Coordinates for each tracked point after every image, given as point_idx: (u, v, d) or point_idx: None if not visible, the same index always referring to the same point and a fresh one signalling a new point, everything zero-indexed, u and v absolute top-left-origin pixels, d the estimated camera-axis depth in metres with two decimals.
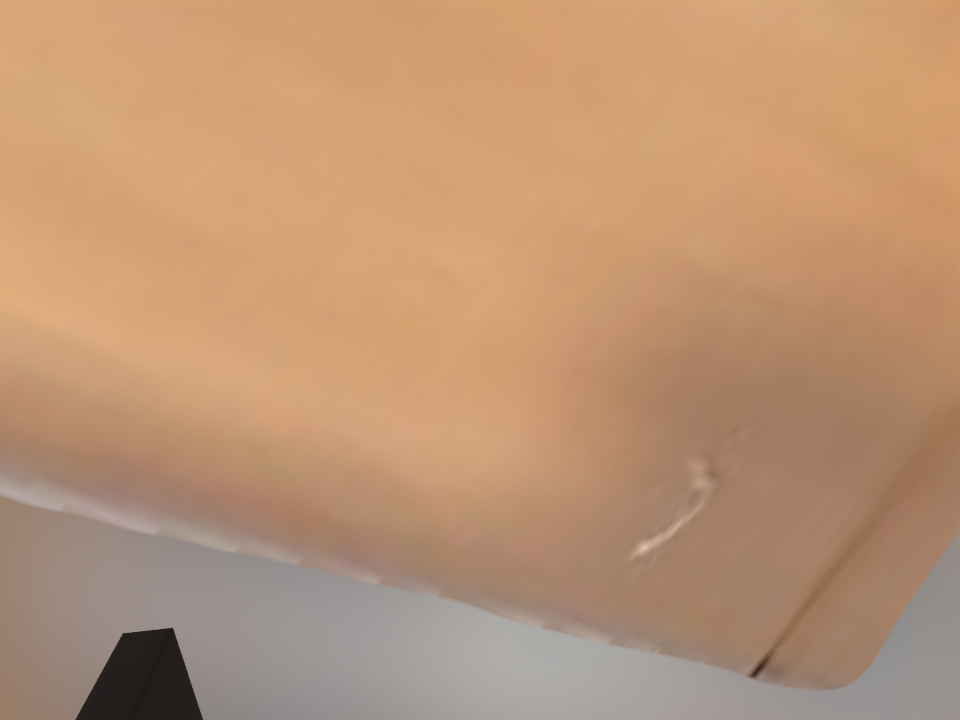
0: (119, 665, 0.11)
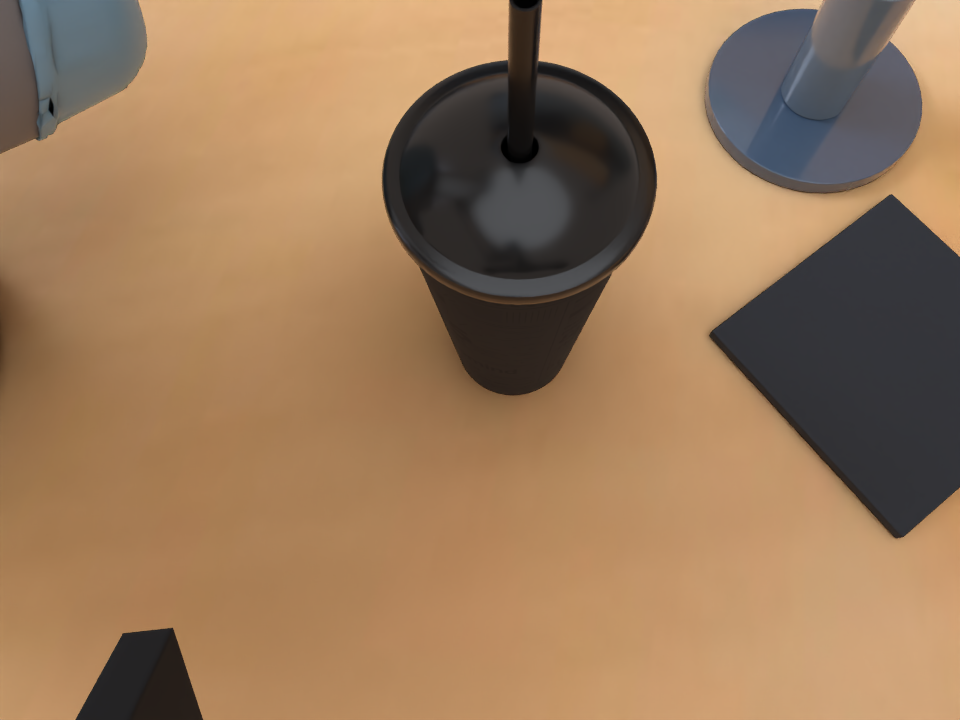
0: (118, 665, 0.11)
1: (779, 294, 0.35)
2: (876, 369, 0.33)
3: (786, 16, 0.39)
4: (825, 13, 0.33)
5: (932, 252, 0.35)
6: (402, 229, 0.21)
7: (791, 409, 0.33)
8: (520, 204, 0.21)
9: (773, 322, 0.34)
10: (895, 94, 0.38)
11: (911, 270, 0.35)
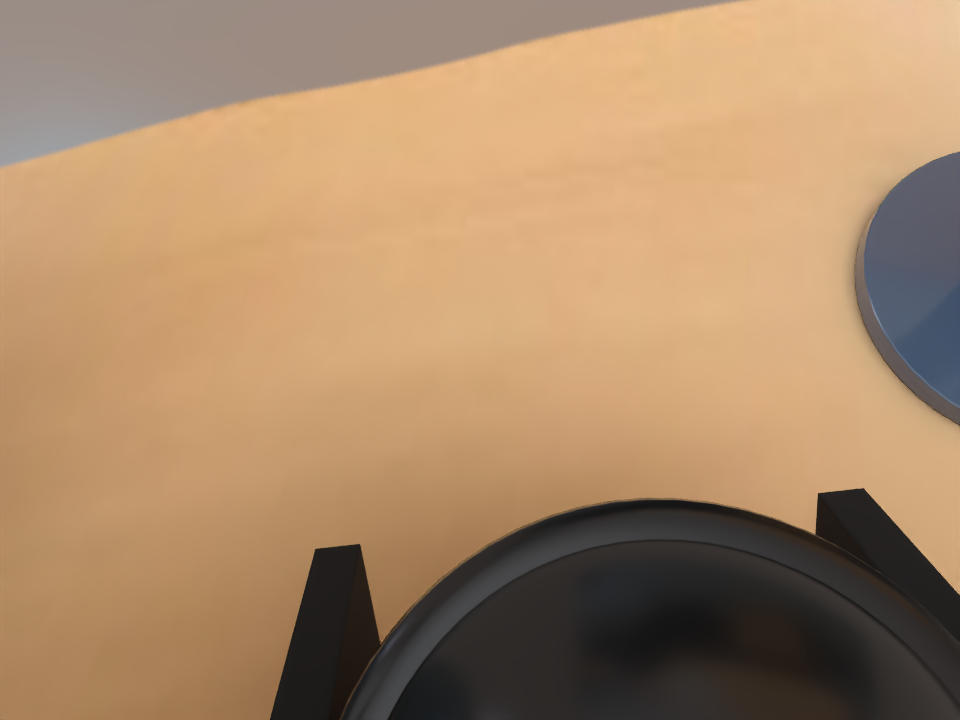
0: (321, 573, 0.13)
1: None
2: None
3: None
4: None
5: None
6: None
7: None
8: None
9: None
10: None
11: None
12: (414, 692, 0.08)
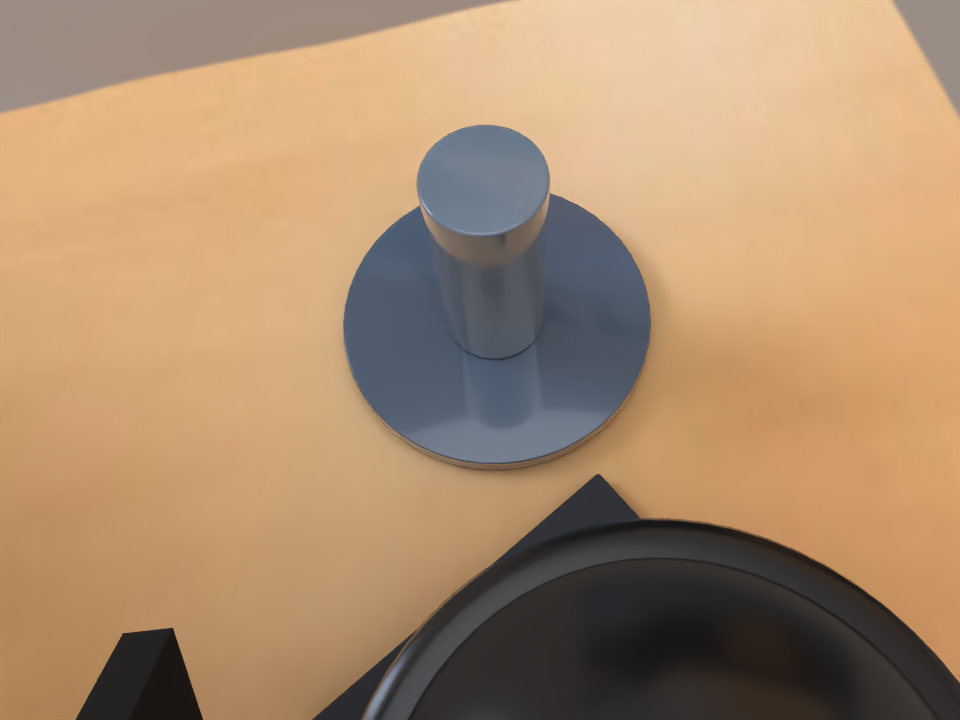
0: (119, 666, 0.11)
1: None
2: None
3: None
4: (427, 238, 0.21)
5: None
6: None
7: None
8: None
9: None
10: (612, 311, 0.26)
11: None
12: (429, 700, 0.09)
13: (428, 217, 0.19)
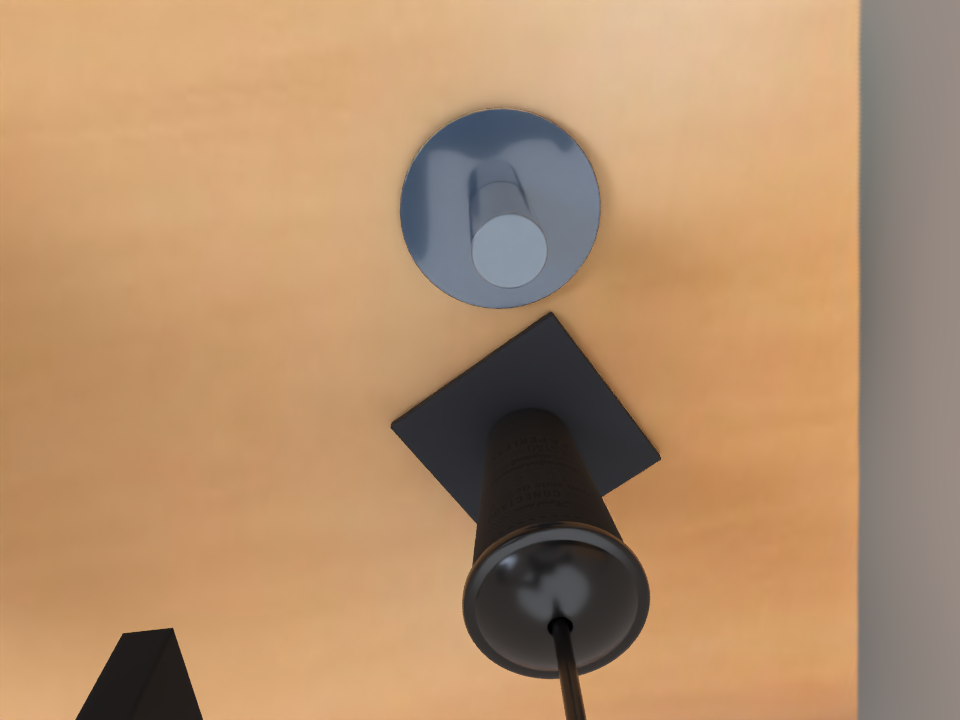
0: (118, 665, 0.11)
1: (445, 400, 0.44)
2: None
3: (486, 119, 0.38)
4: None
5: (573, 367, 0.43)
6: (478, 644, 0.33)
7: (444, 482, 0.46)
8: None
9: (438, 421, 0.44)
10: (575, 217, 0.40)
11: (553, 381, 0.43)
12: (493, 573, 0.31)
13: (477, 271, 0.33)
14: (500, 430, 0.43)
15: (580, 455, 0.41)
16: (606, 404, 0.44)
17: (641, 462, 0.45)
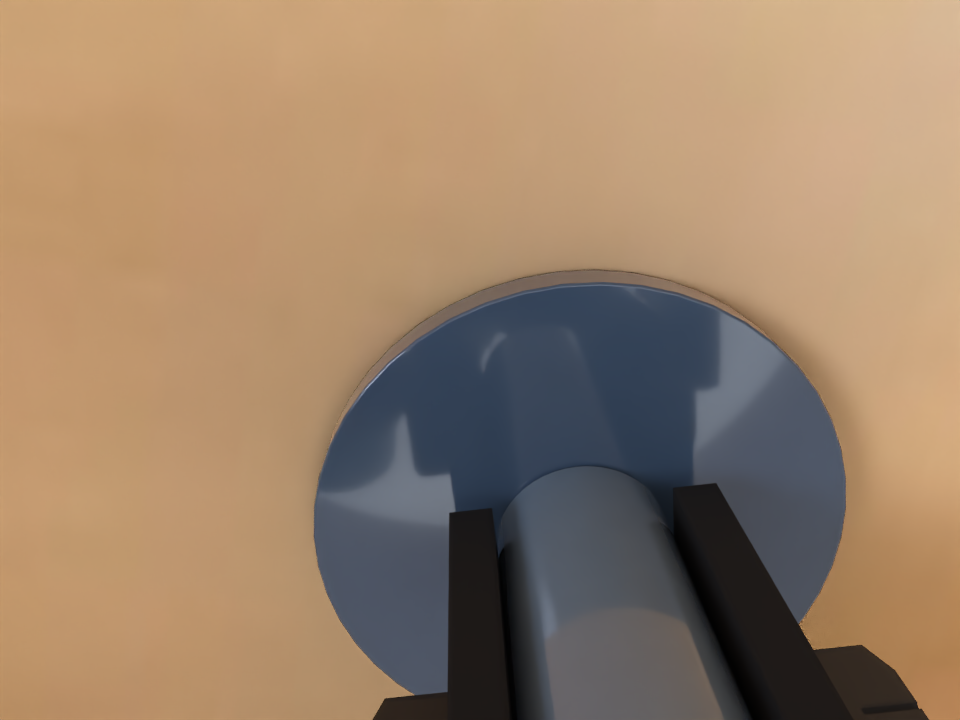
0: (461, 533, 0.13)
1: None
2: None
3: (552, 309, 0.13)
4: None
5: None
6: None
7: None
8: None
9: None
10: (777, 545, 0.15)
11: None
12: None
13: None
14: None
15: None
16: None
17: None
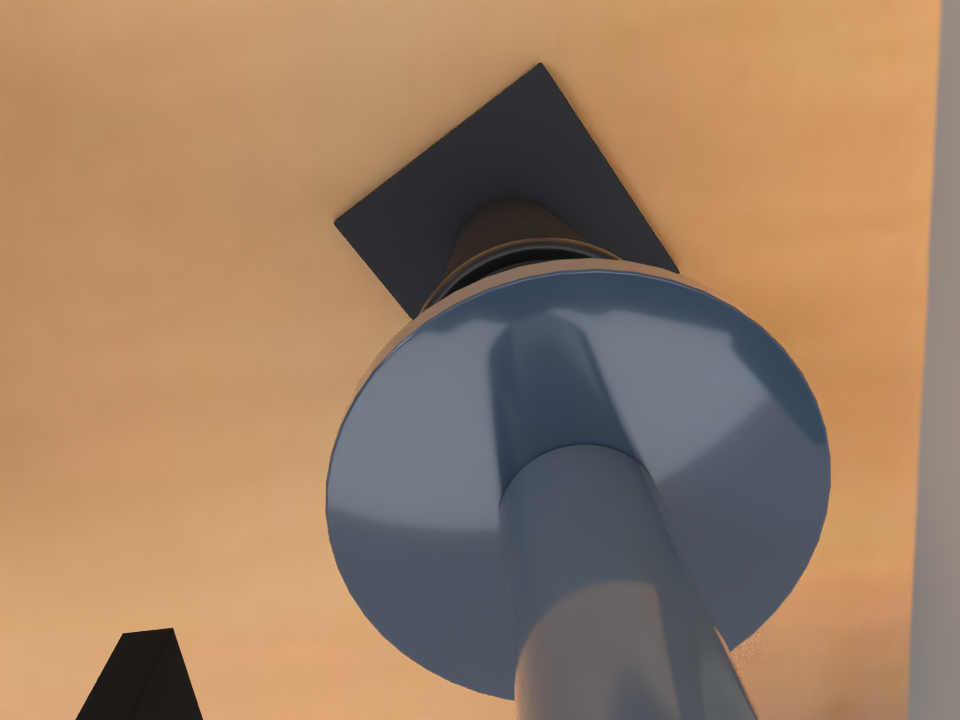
0: (119, 665, 0.11)
1: (404, 184, 0.34)
2: None
3: (552, 295, 0.14)
4: None
5: (569, 139, 0.33)
6: None
7: (403, 301, 0.36)
8: None
9: (394, 215, 0.34)
10: (766, 520, 0.16)
11: (542, 160, 0.34)
12: None
13: None
14: (472, 217, 0.33)
15: None
16: (611, 194, 0.34)
17: None
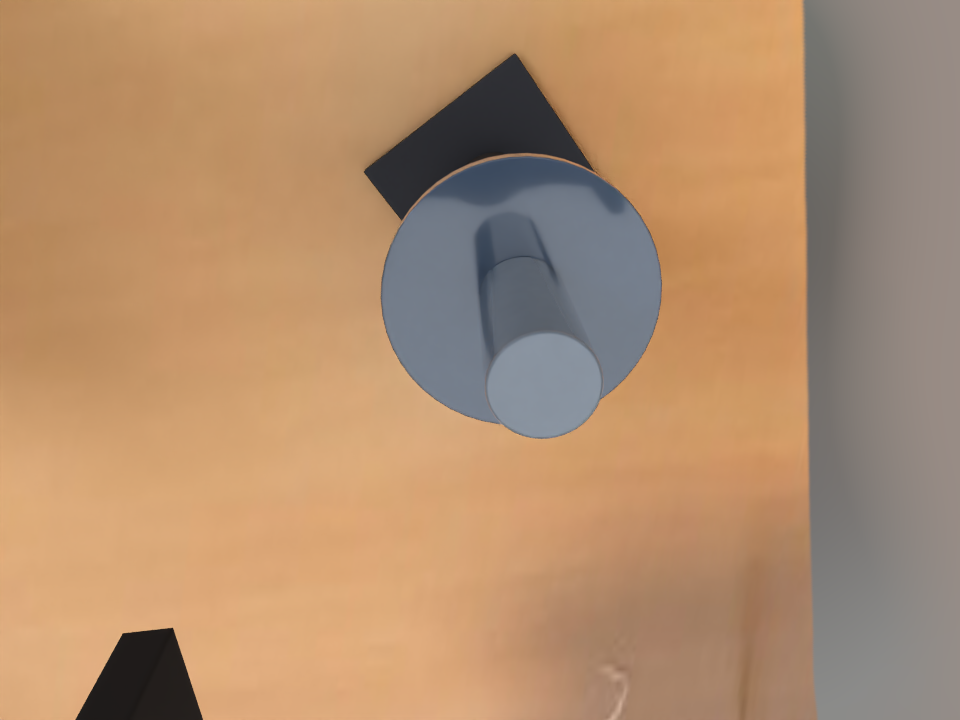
0: (119, 665, 0.11)
1: (415, 143, 0.46)
2: None
3: (503, 170, 0.26)
4: None
5: (535, 109, 0.46)
6: None
7: None
8: None
9: (408, 166, 0.47)
10: (627, 305, 0.28)
11: (516, 125, 0.46)
12: None
13: (493, 412, 0.22)
14: None
15: None
16: (567, 150, 0.47)
17: None
